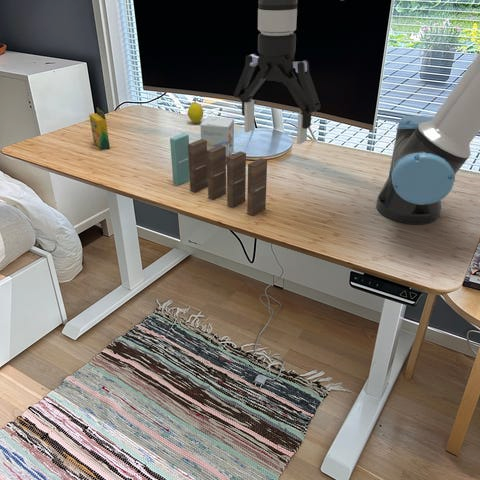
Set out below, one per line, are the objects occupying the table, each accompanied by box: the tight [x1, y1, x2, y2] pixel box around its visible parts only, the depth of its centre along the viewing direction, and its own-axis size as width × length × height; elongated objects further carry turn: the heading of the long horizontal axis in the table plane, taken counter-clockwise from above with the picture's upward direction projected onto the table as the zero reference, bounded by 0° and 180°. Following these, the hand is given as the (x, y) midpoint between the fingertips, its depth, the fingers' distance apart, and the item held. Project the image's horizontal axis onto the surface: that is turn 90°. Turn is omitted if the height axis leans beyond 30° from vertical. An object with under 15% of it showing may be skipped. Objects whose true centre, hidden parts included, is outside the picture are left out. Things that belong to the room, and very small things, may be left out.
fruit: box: [187, 101, 204, 124], centre depth 174 cm, size 6×6×8 cm
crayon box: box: [88, 107, 111, 151], centre depth 153 cm, size 7×3×12 cm, turn 33°
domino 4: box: [226, 151, 247, 209], centre depth 120 cm, size 2×5×13 cm, turn 140°
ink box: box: [199, 115, 235, 165], centre depth 145 cm, size 9×9×12 cm
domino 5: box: [246, 157, 268, 217], centre depth 116 cm, size 2×5×13 cm, turn 140°
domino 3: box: [207, 145, 227, 201], centre depth 123 cm, size 2×5×13 cm, turn 140°
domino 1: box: [169, 132, 190, 187], centre depth 130 cm, size 2×5×13 cm, turn 140°
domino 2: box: [188, 138, 208, 193], centre depth 127 cm, size 2×5×13 cm, turn 140°
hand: (274, 136), depth 107 cm, fingers open, 13 cm apart
